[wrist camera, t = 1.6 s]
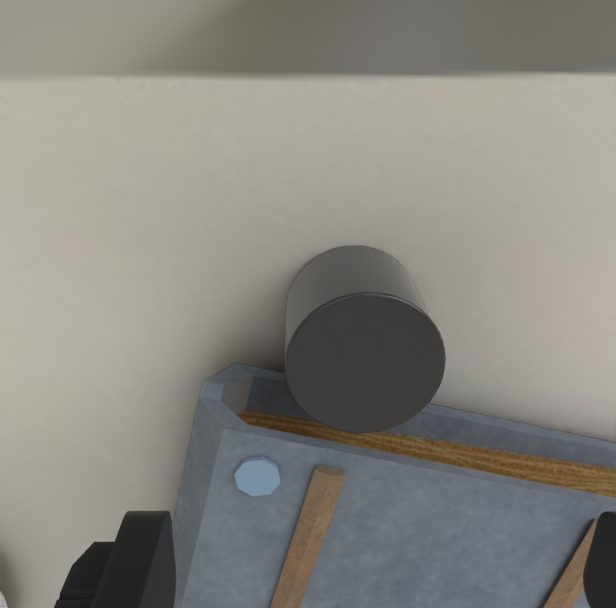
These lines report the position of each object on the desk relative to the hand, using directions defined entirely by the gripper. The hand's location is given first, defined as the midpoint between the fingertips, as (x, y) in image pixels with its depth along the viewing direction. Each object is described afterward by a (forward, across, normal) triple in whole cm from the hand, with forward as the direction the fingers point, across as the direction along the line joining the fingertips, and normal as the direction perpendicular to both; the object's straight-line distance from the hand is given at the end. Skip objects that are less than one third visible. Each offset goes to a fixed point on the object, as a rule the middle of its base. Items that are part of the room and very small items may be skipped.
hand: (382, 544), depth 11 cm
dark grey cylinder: (+10, 0, -1) cm, 10 cm away
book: (+10, -1, +13) cm, 16 cm away
